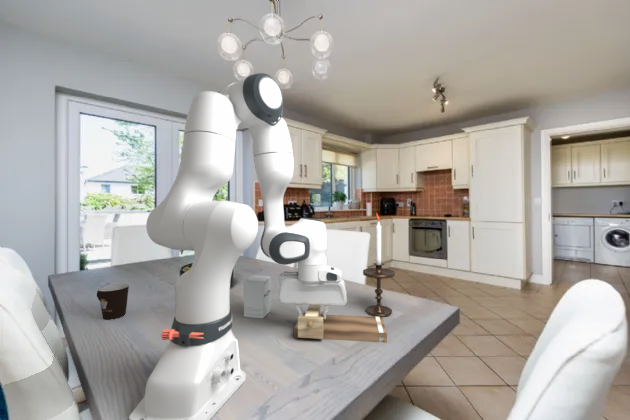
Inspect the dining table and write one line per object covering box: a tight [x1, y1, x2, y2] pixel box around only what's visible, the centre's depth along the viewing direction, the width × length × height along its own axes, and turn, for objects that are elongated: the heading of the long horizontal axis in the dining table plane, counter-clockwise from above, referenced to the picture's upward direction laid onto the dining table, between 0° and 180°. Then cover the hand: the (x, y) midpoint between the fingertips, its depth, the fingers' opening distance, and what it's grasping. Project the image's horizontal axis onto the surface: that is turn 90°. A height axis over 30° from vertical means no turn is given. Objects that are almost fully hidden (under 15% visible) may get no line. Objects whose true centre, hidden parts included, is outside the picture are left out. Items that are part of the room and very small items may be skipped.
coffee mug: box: [96, 283, 130, 321], centre depth 97 cm, size 12×9×10 cm
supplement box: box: [243, 275, 272, 319], centre depth 97 cm, size 7×7×13 cm
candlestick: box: [362, 212, 396, 318], centre depth 97 cm, size 11×11×35 cm
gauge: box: [297, 304, 324, 340], centre depth 82 cm, size 12×7×6 cm, turn 173°
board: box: [293, 314, 388, 343], centre depth 83 cm, size 11×26×3 cm, turn 83°
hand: (313, 318), depth 83 cm, fingers open, 5 cm apart
